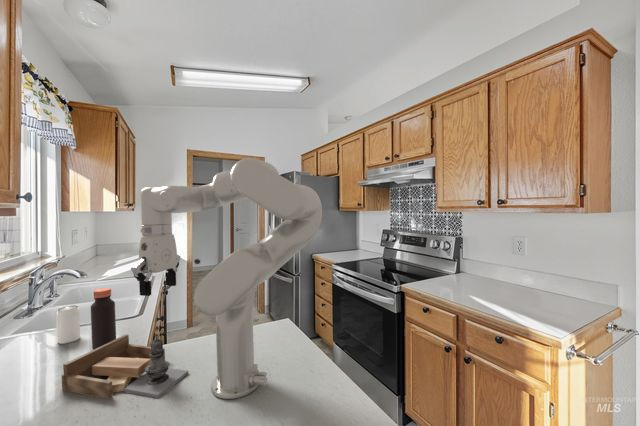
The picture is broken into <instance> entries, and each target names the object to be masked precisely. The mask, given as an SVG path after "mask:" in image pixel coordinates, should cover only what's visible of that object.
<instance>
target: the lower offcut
mask: <svg viewBox="0 0 640 426" xmlns="http://www.w3.org/2000/svg"><path fill="white" fill-rule="evenodd" d="M138 358H139V357H138ZM131 379H132V377H123V376H108V378H107V379H106V380H109V381H112V391H113V393H117V392H122V391H124V388H125V387H127V386H128V385H129V383H130V381H131Z"/></svg>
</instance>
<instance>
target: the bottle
mask: <svg viewBox="0 0 640 426" xmlns="http://www.w3.org/2000/svg"><path fill="white" fill-rule="evenodd" d="M111 297H112V288H110V287H103V288H102V287H101V288H98V289H95V290H93V300H94V302H93V303H91V305H90V321H91V323H90V326H91V327H90V328H91V349H92V350H94V349H96V348H98V347H101V346H103V345H105V344H107V343H109V342H111V341H113V340H115V339H117V326H116V325H117V324H116V321H117V320H116V302H115V301H114V300H113V299H112V298H111Z"/></svg>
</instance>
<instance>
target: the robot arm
mask: <svg viewBox="0 0 640 426" xmlns="http://www.w3.org/2000/svg"><path fill="white" fill-rule="evenodd" d="M212 179H213V180H212V182H211V183H208V184H203V185H199V186H185V185H165V186H160V187H157V186H156V187H155V186H154V187H153V186H148V187H144V188H142V189H141V191H140V209H141V210H140V212H141V213H140V215H141V217H140V218H141V228H140V232H141V236H140V237H141V238H140V242H139V248H138V249H139V251H138V261H137V262H136V263H135V264H133V265H132V266H131V268H130V270H131V272H132V274H133V277H134V278H135V279H136V281H137V282H139V283H138V285H139V295H140V296H142V297H150V296H151V295H152V280H150V279H151V277H152V275H153V274H154V273H155V274H157V273H161V272H164V271H166V272H165V286H168V287H169V286H170V287H174V286H177V273H178V267H179V265H180V262H181V256H180V255H179V254H178V251H177V243H176V238H175V235H174V234H173V220H172V219H173V218H172V216H173V215H172V214H182V213H184V214H185V213H198V212H203V211H208V210H213V209H216V208H219V207H220V208H221V207H222V206H226V205H229V204H233V203H237V202H241V201H246V200H250V201H251V202H253V203H255V204H256V205H258V206H259V207H260V208H262V209H263V210H265V211H267V212H269V213H270V214H271V215H273V216H275V217H276V218H279V219H281V220H283V222H281V223H280V224H278V225H277V226H275V227H274V228H273V229H272V230H271V231H270V232H269V233H267V235H266V236H264V237H263V238H262V239H261V240H260V241H257V242H255V243H254V244H251V245H248V246H244V247H241V248H239V249H237V250H235V251H233V252H232V253H230V254H228V255H227V256H226V257H225V258H224V259H223V260H221V262H220V263H219V264H217V265H216V266H215V267H214V268H213V269H212V270H211V271H209V272H208V273H207V274H206V275H205V276H204V277H203V278H202V279H200V281H199V283H197V285H196V287H195V290H194V295H193V300H194V304H195V307H196V308H197V310H198V311H199V312H200V313H201V314H204V315H205V316H211V317H212V316H214V317H216V318H215V332H216V333H215V337H216V339H215V340H216V360H217V361H216V366H217V367H216V371H217V376H216V377H215V378H213V380H212V382H211V393H212V394H213V395H214V396H215V397H218V398H219V399H224V400H225V399H226V400H231V399H233V400H234V399H238V398H239V399H240V398H241V397H242V398H243V397H245V396H247V395H249V394H251V393H253V392H254V391H255V390H256V389H257V388H258V387H259V385H260V386H266V385H267V383H268V377H267V374H268V373H267V372H266V371H259V369H258V367H259V364H257V363H255V351H254V349H255V347H254V344H255V343H254V304H255V303H254V301H255V294H256V287H258V286H259V285H261V284H262V283H264V282H265V281H267V280H269V279H270V278H271V277H272V276H273V275H274V274H275V273H277V271H279V270H280V268H282V267H283V266H284V265H286V264H287V262H289V261H290V260H291V259H292V258H293V257H294V256H296V254H298V252H300V251H301V250H302V249H304V247H306V245H308V244H309V242H310V241H312V239H313V238H314V236H315V235H316V233H317V232H318V230H319V228H320V225H321V223H322V218H323V207H322V206H323V205H322V202H321V199H320V196H319V195H318V193H317V191H316V190H315V189H313V188H311V187H310V186H307V185H304V184H299V183H294V182H292V181H291V180H289V179H287V178H286V177H284V176H282V175H280V173H279V171H278V170H277V168H276V167H275V166H274V165H273V164H272V163H269V162H267V161H264V160H260V159H259V158H254V157H247V158H246V157H245V158H242V159H240V160H238V161H237V162H235V164H234V165H233V166H232V168H231V169H229V170H224V171H221V172H218V173H216V174H215V175H214V177H213V178H212Z"/></svg>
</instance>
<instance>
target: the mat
mask: <svg viewBox="0 0 640 426" xmlns="http://www.w3.org/2000/svg"><path fill="white" fill-rule="evenodd" d="M166 374H168V375H169V378H168V379H167V380H166V381H165V382H163V383H161V384H157V385H148V384H147V380H148V379H149V378H150V377H148V375H147V372H146V373H145V374H144V373H143V374H142V375H141V376H139V377H138V378H137V379H136V380H134V381H133V382H132V383H130V384H128V385H127V387H125V388H124V390H123V392H124V393H128V394H129V393H130V394H134V395H140V396H146V397H152V398H156V399H159V398H160V397H161V396H162V395H164V394H165V393H166V392H168V391H169V390H170V389H171V388H172V387H174V386H176V384H177V383H178V382H180V381H181V380H182V379H184V378H185V377H186V376H187V375H188V374H189V370H185V369H180V368H178V369H177V368H172V367H168V370H167V372H166Z"/></svg>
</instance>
